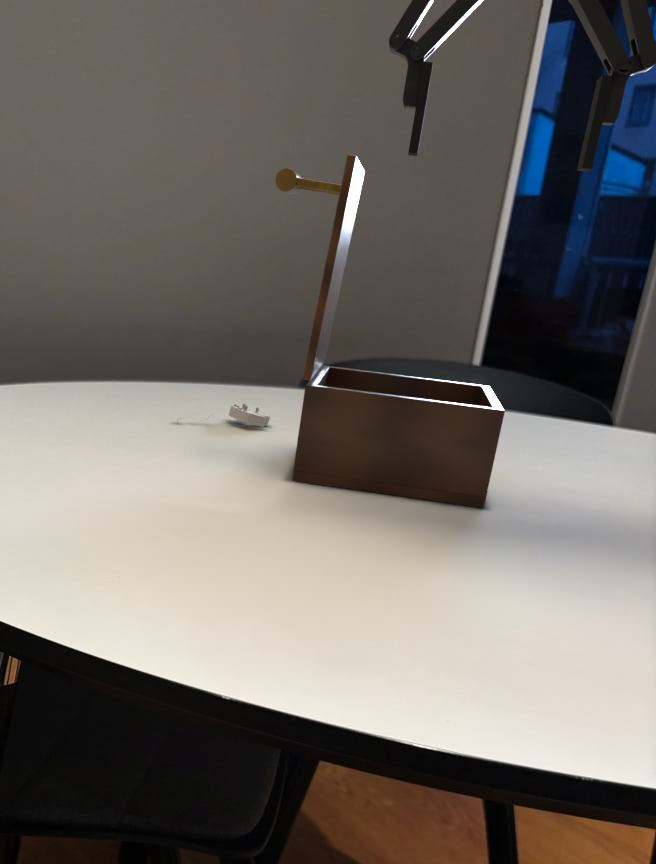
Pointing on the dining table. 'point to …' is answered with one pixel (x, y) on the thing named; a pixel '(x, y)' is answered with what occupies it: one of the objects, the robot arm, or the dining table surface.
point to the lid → (336, 251)
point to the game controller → (247, 415)
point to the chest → (398, 435)
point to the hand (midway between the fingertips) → (497, 162)
